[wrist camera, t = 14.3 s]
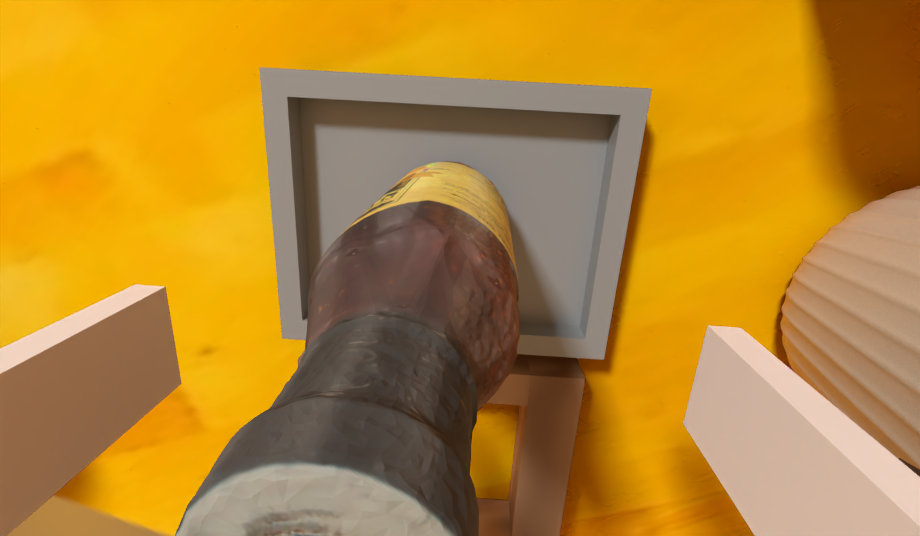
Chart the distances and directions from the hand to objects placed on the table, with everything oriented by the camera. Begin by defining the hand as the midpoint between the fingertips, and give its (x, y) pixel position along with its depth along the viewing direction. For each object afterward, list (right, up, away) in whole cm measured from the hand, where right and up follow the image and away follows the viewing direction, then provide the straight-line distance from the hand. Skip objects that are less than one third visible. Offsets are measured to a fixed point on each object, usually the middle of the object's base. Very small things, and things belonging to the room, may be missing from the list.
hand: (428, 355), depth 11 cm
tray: (0, +5, +14) cm, 15 cm away
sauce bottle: (0, +5, +13) cm, 14 cm away
